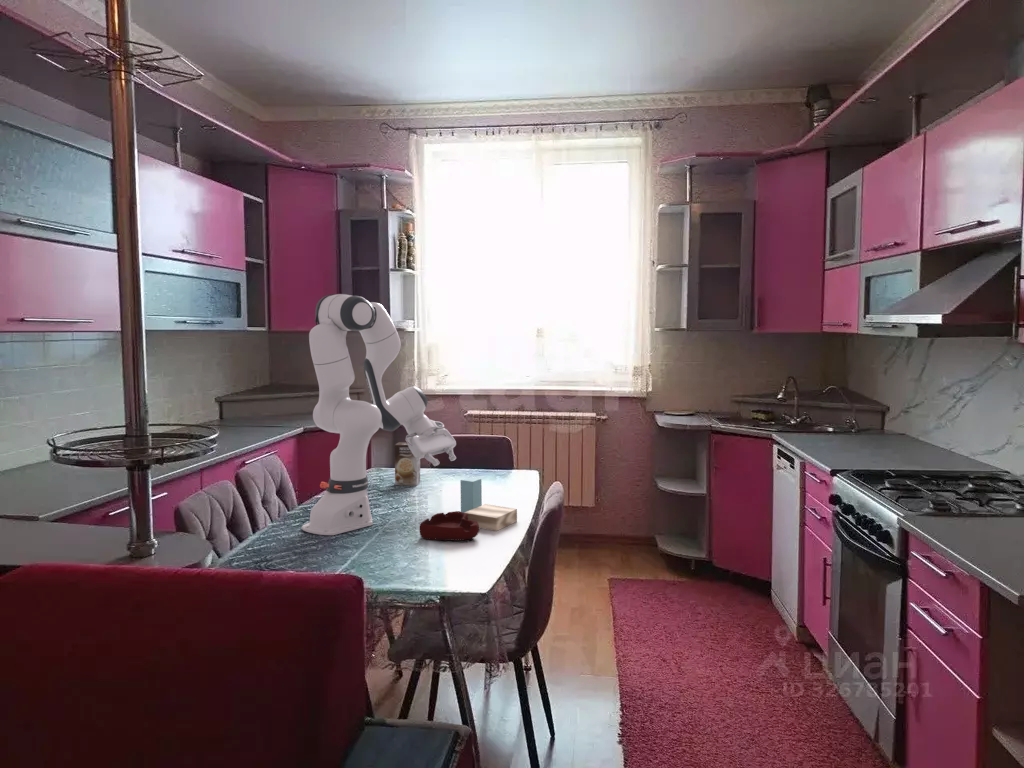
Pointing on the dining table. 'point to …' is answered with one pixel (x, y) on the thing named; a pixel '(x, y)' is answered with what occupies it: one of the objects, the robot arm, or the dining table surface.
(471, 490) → the teal block
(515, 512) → the plinth
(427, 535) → the ashtray
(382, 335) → the robot arm
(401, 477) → the coffee box
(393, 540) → the dining table surface
